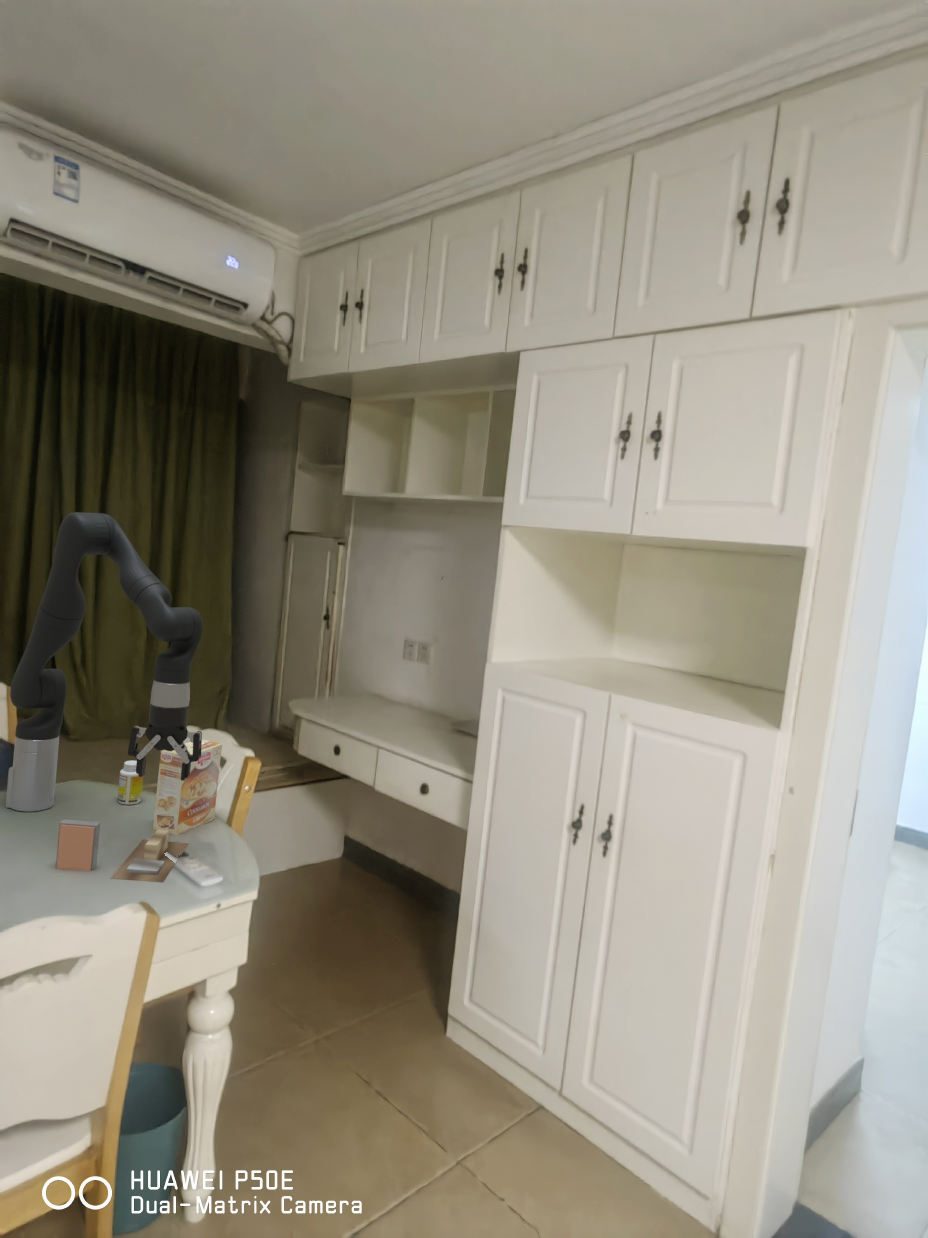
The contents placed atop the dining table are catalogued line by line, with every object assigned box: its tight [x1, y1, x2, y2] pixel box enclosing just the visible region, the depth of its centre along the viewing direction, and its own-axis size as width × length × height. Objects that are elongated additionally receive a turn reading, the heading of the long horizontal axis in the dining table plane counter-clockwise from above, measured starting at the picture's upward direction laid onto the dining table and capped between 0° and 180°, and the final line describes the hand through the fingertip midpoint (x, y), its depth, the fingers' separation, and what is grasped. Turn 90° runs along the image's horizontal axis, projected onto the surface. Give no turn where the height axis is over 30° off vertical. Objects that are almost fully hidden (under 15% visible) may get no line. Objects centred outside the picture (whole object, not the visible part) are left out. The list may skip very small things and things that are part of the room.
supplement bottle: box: [117, 760, 144, 806], centre depth 190 cm, size 6×6×10 cm
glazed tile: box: [55, 818, 101, 872], centre depth 150 cm, size 7×2×10 cm, turn 96°
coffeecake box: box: [152, 738, 223, 836], centre depth 179 cm, size 15×7×20 cm, turn 164°
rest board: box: [110, 839, 190, 883], centre depth 158 cm, size 10×20×1 cm, turn 6°
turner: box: [126, 829, 170, 875], centre depth 158 cm, size 14×6×4 cm, turn 6°
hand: (162, 777), depth 158 cm, fingers open, 8 cm apart
